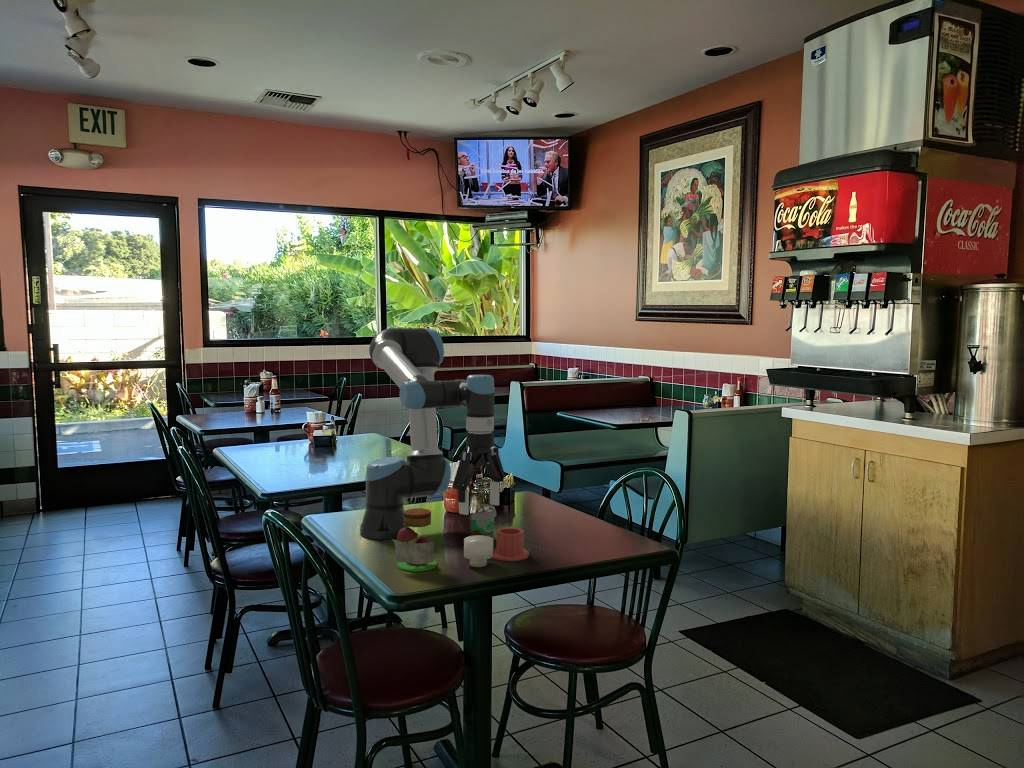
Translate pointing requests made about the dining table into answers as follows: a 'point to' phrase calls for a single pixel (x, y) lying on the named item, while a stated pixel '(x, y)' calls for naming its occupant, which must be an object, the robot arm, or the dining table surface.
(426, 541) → the translucent plastic tub
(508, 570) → the dining table surface
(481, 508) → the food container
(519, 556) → the red flanged cylinder
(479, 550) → the grey rounded piece
